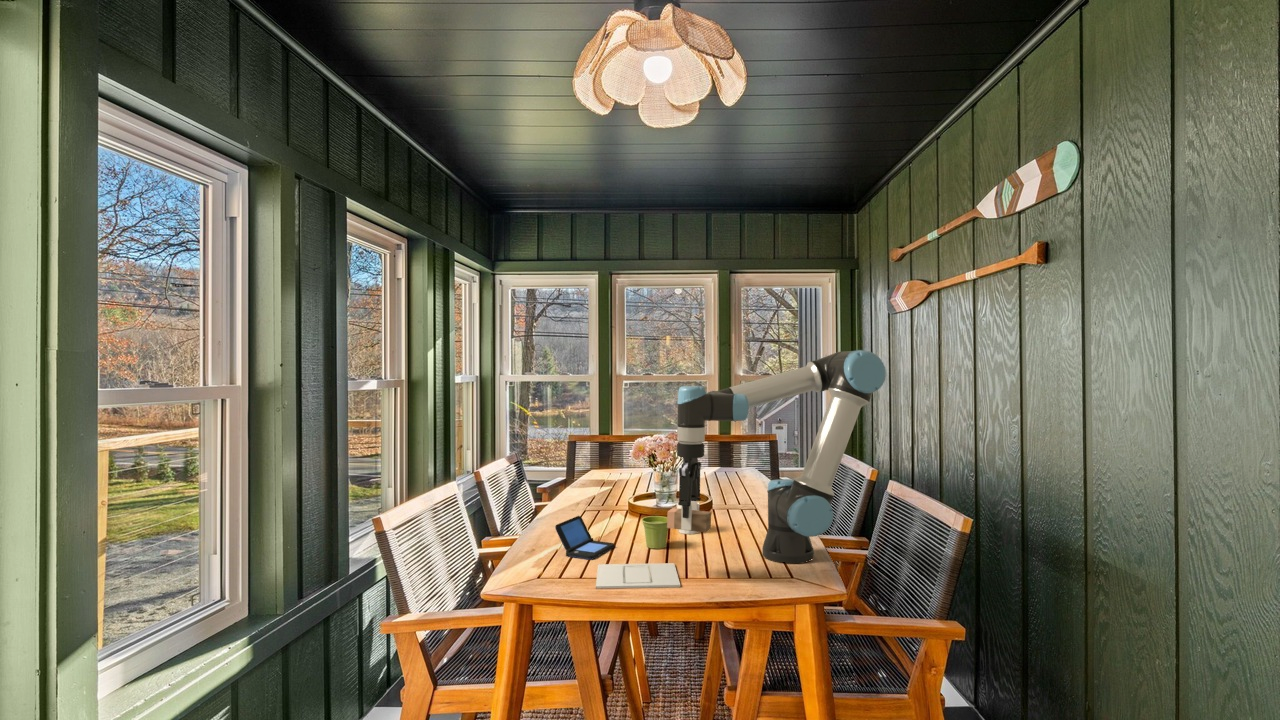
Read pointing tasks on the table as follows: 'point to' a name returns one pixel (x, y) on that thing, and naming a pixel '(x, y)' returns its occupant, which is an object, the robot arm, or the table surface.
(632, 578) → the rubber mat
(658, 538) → the plant pot
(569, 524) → the handheld game console
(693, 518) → the walnut block
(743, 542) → the table surface
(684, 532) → the white cup
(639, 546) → the table surface
